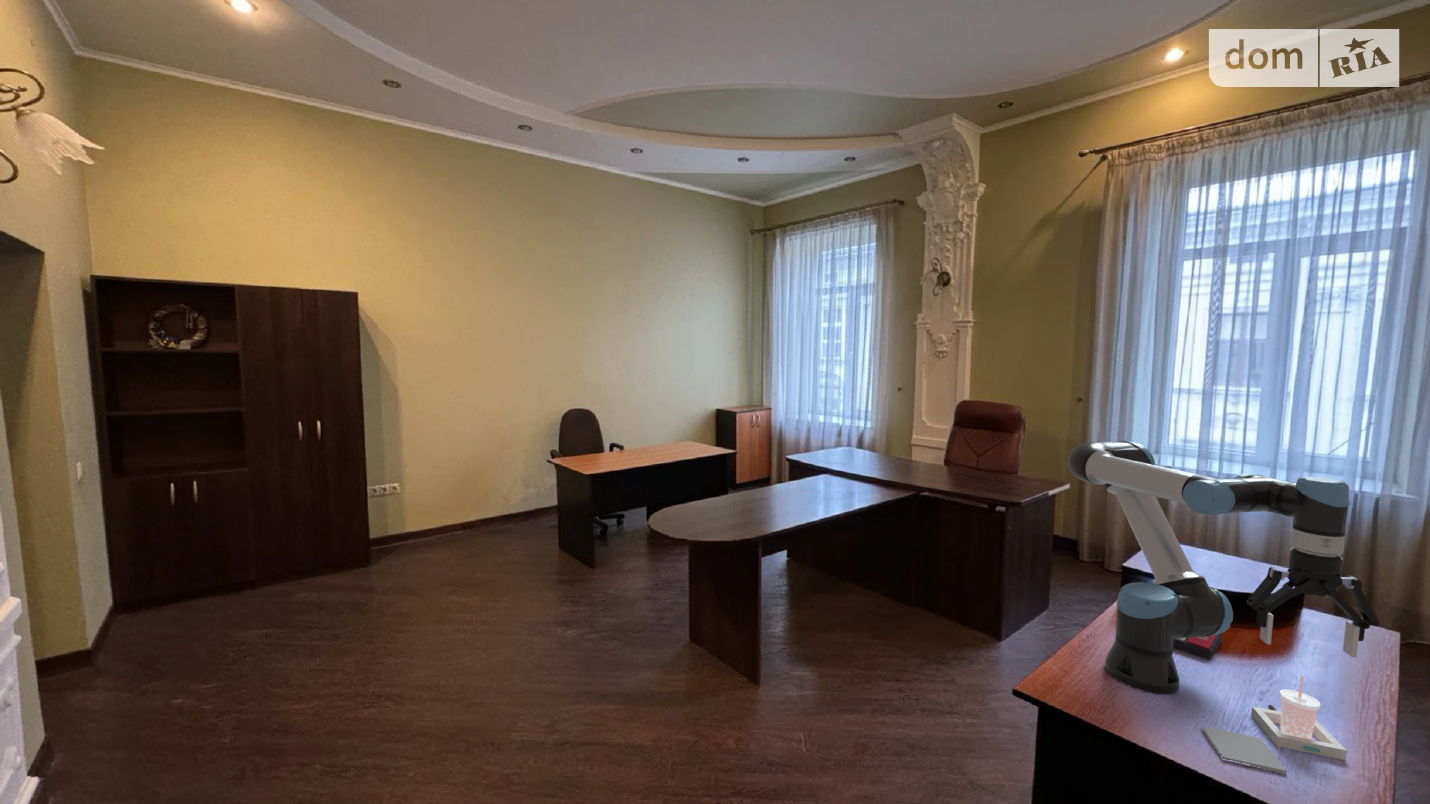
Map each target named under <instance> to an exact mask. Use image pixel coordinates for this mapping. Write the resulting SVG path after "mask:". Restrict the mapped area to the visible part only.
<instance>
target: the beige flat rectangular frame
mask: <svg viewBox="0 0 1430 804" xmlns="http://www.w3.org/2000/svg"><path fill="white" fill-rule="evenodd" d="M1250 715H1251V717H1252V718H1253V720H1254V721H1255V722H1256V724H1258V725H1259V727H1260V728H1261V729H1262V730H1263V731H1264V733H1265V734H1266V735H1267V736H1268V738H1269V739H1270V740H1271V741H1272V742H1273V743H1274V745H1275V746H1276V747H1280V748H1283V749H1289V750H1293V751H1297V752H1303V753H1308V754H1312V755H1313V754H1314V755H1319V756H1322V757H1327V758H1331V759H1337V760H1342V761H1347V755H1348V754H1347V753H1348V750H1347V749H1346V748H1345V747H1344V745H1342V744H1341V743H1340V742H1339V741H1338V740H1337V739H1336V738H1335V737H1334V736H1333V735H1332V734H1331V733H1330V732H1329V731H1328V730H1327V729H1326V728H1325V727H1324V726H1323V725H1322V724H1321V723H1320V722H1319V721H1318V720H1317V719H1316V721H1315V725H1314V730H1313V735H1314V737H1315V738H1316V739H1317V740H1314V739H1311V740H1310V739H1305V738H1300V737H1295V736H1290V735H1285V734H1282V733H1281V729H1279V728H1278V727H1277V726H1276V725H1275V724H1278V725H1281V711H1280V710H1279V711H1278V710H1277V708H1275V706H1273V705H1272V704H1268V706H1267V708H1263V707H1258V706H1253V705H1252V706H1251V711H1250ZM1313 735H1312V736H1313Z"/></svg>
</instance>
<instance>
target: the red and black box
mask: <svg viewBox="0 0 1430 804" xmlns="http://www.w3.org/2000/svg"><path fill="white" fill-rule="evenodd" d="M1222 636H1223V633H1220V634H1216V635H1212V636H1207V637H1202V636H1199V637H1188V638H1176V639H1174V642H1173V650H1177V651H1181V652H1184V653H1187V654H1190V655H1193V656H1195V657H1199V658H1202V659H1204V660H1207V661H1211V660H1212V659H1213V657H1214V655H1215V653H1216V651H1217V649H1218V648H1219V647H1220V645H1221V644H1222Z"/></svg>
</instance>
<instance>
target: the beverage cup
mask: <svg viewBox="0 0 1430 804" xmlns="http://www.w3.org/2000/svg"><path fill="white" fill-rule="evenodd" d="M1304 678H1305V677H1304V675H1301V674H1300V677H1299V687H1298V691H1297V690H1294V689H1288V688H1287V689H1286V688H1285V689H1281V690H1279V697H1280V712H1281V724H1280V731H1281V733H1282V734H1285V735H1290V736H1295V737H1300V738H1305V739H1310V740H1313V730H1314V725H1315V721H1316V720H1317V716H1318V711H1319V710H1320V708H1321V702H1320V701H1319V700H1318V699H1316V698H1315V697H1313V696H1310V695H1309V694H1307V693H1304V692H1303V686H1304Z"/></svg>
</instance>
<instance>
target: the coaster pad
mask: <svg viewBox="0 0 1430 804" xmlns="http://www.w3.org/2000/svg"><path fill="white" fill-rule="evenodd" d="M1202 729H1203V731H1204V732H1203V731H1202V732H1203V734H1204V733H1205V734H1206V735H1205V734H1204V735H1205V736H1207V737H1208V738H1207V737H1206V738H1207V740H1208V739H1209V740H1210V741H1209V740H1208V741H1209V743H1210V742H1211V743H1212V744H1213V746H1214V747H1215V749H1216V750H1217V751H1218V752H1219V754H1220V755H1221V756H1222V758H1223V759H1226V760H1233V761H1237V762H1240V763H1246V764H1249V765H1252V766H1255V767H1260V768H1263V769H1266V770H1265V771H1268V770H1270V771H1269V772H1272V771H1274V772H1273V773H1278V774H1281V773H1282V774H1283V775H1286V776H1287V772H1288V770H1287V769H1286V768H1285V766H1283V764H1282V763H1281V761H1279V759H1278V758H1277V757H1276V755H1275V754H1274V753H1273V751H1272V750H1271V749H1270V748H1269V746H1267V744H1266V743H1265V742H1264V741H1263V739H1262V738H1261V737H1256V736H1251V735H1246V734H1241V733H1237V732H1232V731H1228V730H1223V729H1217V728H1212V727H1207V726H1204V725H1203V726H1201V730H1202ZM1211 743H1210V744H1211ZM1212 744H1211V745H1212ZM1213 746H1212V747H1213ZM1214 747H1213V748H1214ZM1215 749H1214V750H1215ZM1216 750H1215V751H1216ZM1263 769H1262V770H1263ZM1282 774H1281V775H1282Z"/></svg>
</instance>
